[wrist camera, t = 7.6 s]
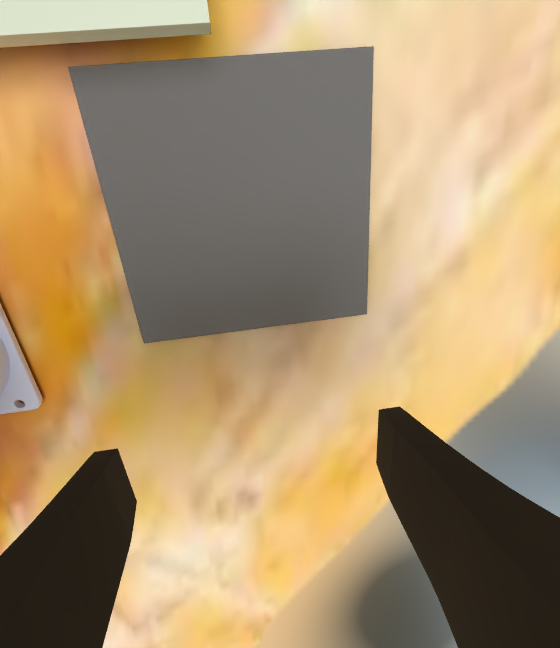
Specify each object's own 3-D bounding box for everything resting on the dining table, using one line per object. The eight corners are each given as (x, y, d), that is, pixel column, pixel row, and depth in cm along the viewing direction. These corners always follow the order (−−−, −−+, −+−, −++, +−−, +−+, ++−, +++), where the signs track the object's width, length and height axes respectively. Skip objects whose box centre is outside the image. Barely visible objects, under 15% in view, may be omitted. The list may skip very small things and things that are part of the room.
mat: (145, 339, 20) (143, 343, 19) (71, 68, 14) (67, 66, 14) (364, 311, 21) (366, 313, 20) (369, 48, 15) (373, 46, 15)
